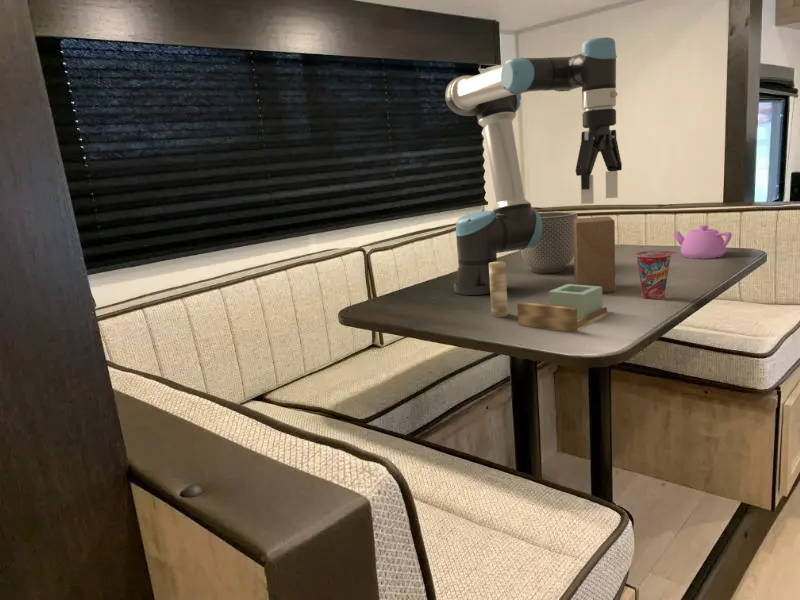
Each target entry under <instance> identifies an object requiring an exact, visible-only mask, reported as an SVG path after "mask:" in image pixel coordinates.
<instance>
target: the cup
mask: <svg viewBox="0 0 800 600" xmlns="http://www.w3.org/2000/svg"><path fill="white" fill-rule="evenodd" d="M673 254H678V252H676V251H669V250H668V251H667V250H647V251H639V252H636V253H635V256H636V260H637V267H638V274H639V281H640V289H641V290H640V291H641V296H642V297H641V298H642V299H643V300H652V301H664V300H665V297H666V288H667V283H668V274H669V269H670V262H671V258H672V257H671V256H672V255H673Z"/></svg>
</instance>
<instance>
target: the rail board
mask: <svg viewBox="0 0 800 600" xmlns="http://www.w3.org/2000/svg"><path fill="white" fill-rule="evenodd" d="M613 313H614V311H611V310H609V311H608V308H607V307H602V309H600V310H598V311H596V312H594V313H592V314H590V315H588V316H586V317H584V318H582V319H580V320H579V319H577V308H572V307H563V306H554V305H549V304H543V303H542V304H541V303H535V302H524V301H520V302H518V303H517V319H518V320H517V323H518V325H519V326H526V327H532V328H541V329H547V330H555V331H556V330H557V331H561V332H562V331H563V332H569V333H575V332H578V331H580V330H582V329H584V328H585V327H588V326H589V325H591V324H592V323H595V322H597V321H599V320H601V319H603V318H604V317H607V316H608V315H610V314H613Z"/></svg>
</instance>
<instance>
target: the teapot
mask: <svg viewBox="0 0 800 600" xmlns="http://www.w3.org/2000/svg"><path fill="white" fill-rule="evenodd" d="M672 235H673V236H674V238H675V240H676V241H677V242H678V244H679V245H680V253H681V254H682V256H683V257H684V256H685V258H686V257H691V258H713V259H717V258H716V257H719V258H721V257H723V256H724V255H725V253H726V252H727V246H728V244H729V242H730V241H731V239H732V233H731V231H723V232H719V230H717V229H714V228H709V225H708V224H707V225H706V224H701V225H699V226H698V229H697V228H696V229H691V230H690V231H689V232H688V233H687V234H686V236H685V237H684V236H683V235H682V233H681V232H680V231H679V230H678V231H676V232H675V233H673V234H672ZM723 236H725V239H724V238H723ZM691 258H690V259H691Z"/></svg>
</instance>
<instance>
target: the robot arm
mask: <svg viewBox="0 0 800 600" xmlns="http://www.w3.org/2000/svg"><path fill="white" fill-rule="evenodd" d="M616 49H617V48H616V41H615V40H614V38H613V37H597V38H592V39H587V40H585V41H584V42H582V44H581V50H580V53H578V54H576V55H573V56H559V57H553V56H552V57H551V56H550V57H521V56H520V57H516V58H509V59H507V60H506V61H505V62H504V64H503V65H502V66H499V67H497V68H496V67H495V68H493V69H491V70H488V71H485V72H482V73H481V72H480V73H479V74H476V75H475V74H474V75H472V74H471V75H470V74H469V75H468V74H467V75H460V76H457V77H456V78H453V79H452V80H451V81H450V82H449V83H448V84H447V86H446V89H445V92H444V99H445V103H446V104H447V107H448V108H449V109H450V110H451V111H452V112H453V113H455V114H457V115H460V116H467V117H474V116H476V118H477V124H478V125H479V126H481V127H483V128H484V129H483V130H484V134H485V141H486V147H487V154H488V161H489V165H490V166H489V167H490V172H491V177H492V178H491V179H492V184H493V189H494V195H495V200H496V201H495V203H496V204H495V206H494V208H493V209H492V210H483V211H476V212H471V213H467V214H465V215H462V216H460V217H459V218H458V219H457V220H456V221H455V236H456V237H455V238H456V248H457V262H458V263H457V264H458V266H457V271H456V276H455V279H454V281H455V282H454V283H453V288H454V290H453V291H454V293H456V294H458V295H465V296H467V295H468V296H480V295H481V296H482V295H489V294H490V277H489V263H491V262H498V259H497V258H498V257H497V254H500V253H506V252H507V253H508V252H512V251H513V252H514V251H521V250H524V249H526V248H531V247H533V246H535V245H536V244H537V242H538V241H539V238H540V237H541V233H542V219H541V216H540V215H539V213H540V212H538V211H537V210H535V209H533V208H532V203H531V202H530V201H529V200H527V199H526V198H525V194H524V187H523V179H522V174H521V169H520V163H519V156H518V150H517V145H516V140H515V139H516V138H515V132H514V126H513V121H514V120H515V118H516V117H517V113H516V112H517V111H518V110H519V109H520V106H521V100H522V93H529V92H538V91H539V92H540V91H542V92H543V91H556V92H559V93H560V92H570V91H572V90H575V89H578V88H581V92H582V93H581V109H582V110H584V111H583V112H582V127H583V129H588V130H587V131H582V132H581V135H580V136H581V138H580V140H581V141H580V145H579V151H578V157H577V161H576V166H575V174H576V176H578V177H579V176H580V196H581V197H580V202H581V203H580V204H583V205H585V204H594V201H595V200H594V199H595V198H594V196H595V195H594V174H592V172H593V170H594V167H595V162H596V160H597V158H598V154H599V153H600V154H601V156H602V159H603V162H604V165H605V167H606V169H607V171H605V199H617V198H618V191H619V189H618V187H619V185H618V181H619V180H618V178H619V177H618V171H622V169H623V168H622V167H623V166H622V163H623V162H622V160H621V155H620V149H619V144H618V140H617V130H616V129H611V128H610V127H611V126H615V125H616V124H617V110H616V109H615V106H616V104H617V103H616V102H617V101H616V100H617V99H616V97H617V96H618V92H617V91H616V90H617V88H616V87H617V51H616Z"/></svg>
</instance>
